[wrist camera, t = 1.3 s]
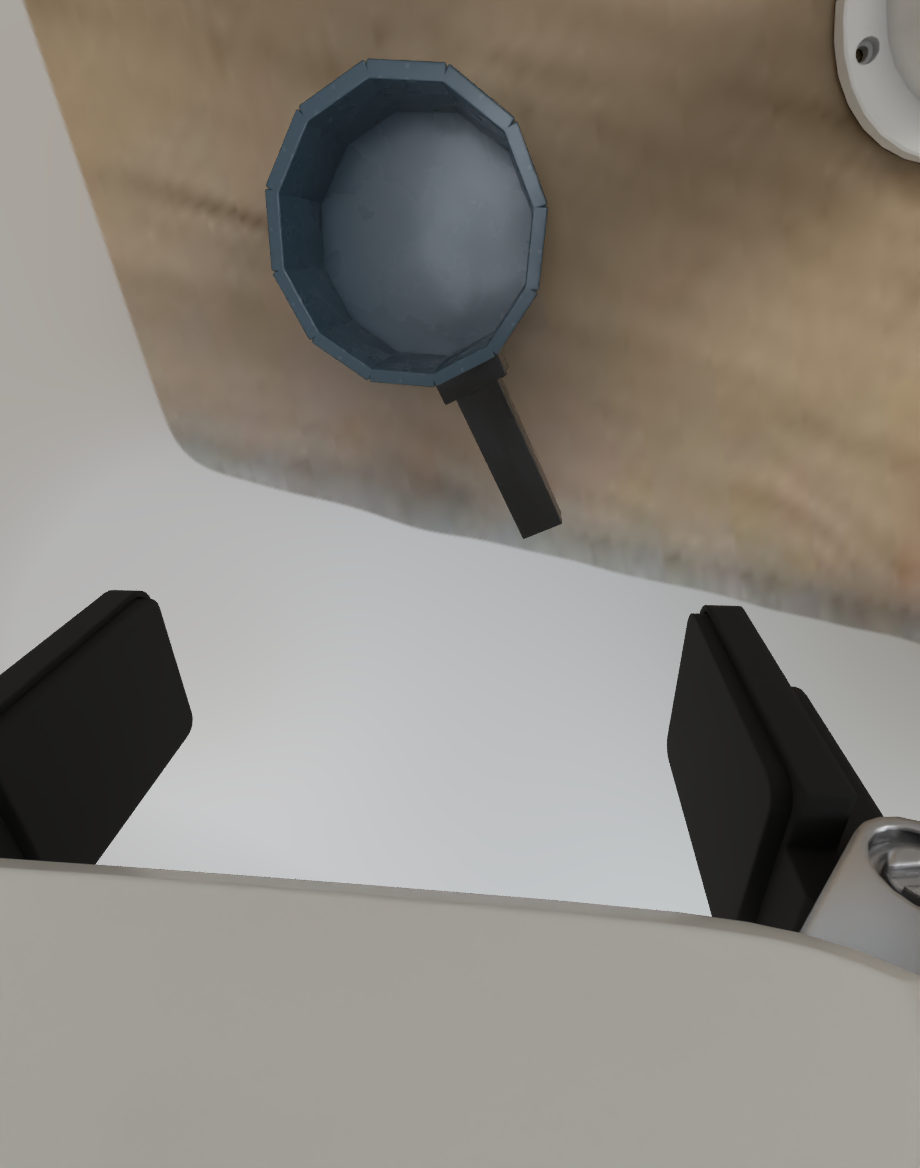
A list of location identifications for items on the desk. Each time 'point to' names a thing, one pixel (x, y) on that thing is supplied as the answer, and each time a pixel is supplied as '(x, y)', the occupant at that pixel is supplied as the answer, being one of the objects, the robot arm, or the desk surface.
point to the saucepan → (417, 246)
